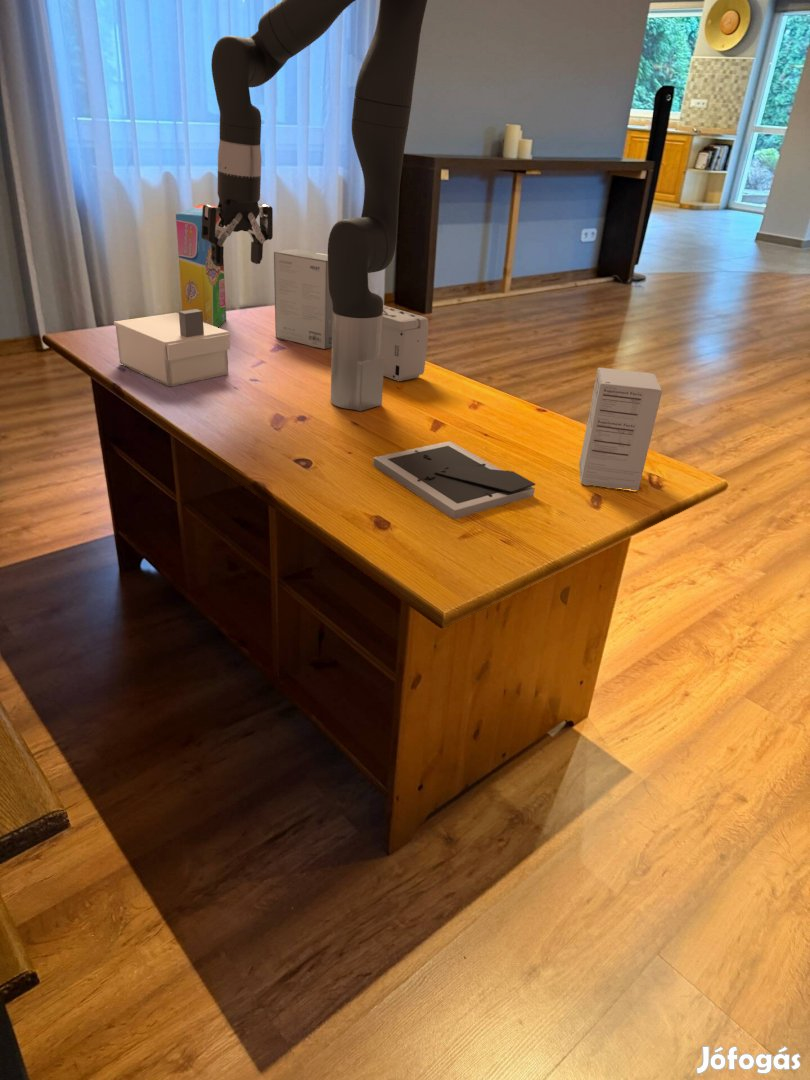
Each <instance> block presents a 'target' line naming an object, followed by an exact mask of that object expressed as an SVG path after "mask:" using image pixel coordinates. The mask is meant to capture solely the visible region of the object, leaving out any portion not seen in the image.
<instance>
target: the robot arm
mask: <svg viewBox="0 0 810 1080" xmlns="http://www.w3.org/2000/svg"><path fill="white" fill-rule="evenodd" d="M354 2H356V0H280V1H279V2H278V3H276V4H275V5H274V6H273V7H271V8H270V9H269V10H268V11H266V12H265V13H264V14H262V17H260V19H259V21H258V24H257V31H256V32H255V33H253V34H252V35H250V36H249V37H242V36H237V35H225V36H223V37H221V38H219V40H218V41H217V42H216V43H215V46H214V48H213V50H212V56H211V76H212V80H213V86H214V91H215V96H216V101H217V105H218V109H219V142H218V150H217V197H218V204H217V205H216V206H217V207H213V206H214V205H212V206H209V204H203V205H204V206H203V212H202V233H201V237H202V239H204V240H206V241H208V242H210V243H211V260H212V262H213V263H214V265H216V266H218V267H222V266H223V258H224V249H225V247H224V243H225V241H226V240H227V238H229V237H230V236H231V235H232V233H238V232H241V231H242V232H248V234H249V236H250V237H251V239H252V241H251V242H250V262H251V263H253V264H255V265H258V264H261V261H262V260H263V252H264V250H263V249H264V243H265V242H266V241H268V240H269V241H270V240H272V239H273V234H274V233H273V231H274V230H273V229H274V228H273V227H274V226H273V224H274V223H273V222H274V221H273V219H274V218H273V217H274V216H273V212H274V211H273V210H274V209H273V207H272V206H270V205H268V204H264V203H261V204H259V201H260V199H261V180H262V149H261V144H262V143H261V141H262V139H261V138H262V137H261V136H262V115H261V112H260V109H259V108H258V107H257V106H255V105H253V104H252V101H251V93H250V88H256V87H260V86H262V85H264V84H266V83H267V82H269V81H270V80H271V79H272V78H274V76H275V75H276V74H277V73H278V72H280V70H281V69H282V68H283V67H284V65H286V63H287V61H288V60H289V59H290V58H291V59H292V58H293V57H294V56H296V55H297V54H298V53H300V52H302V51H303V50H305V49H307V47H309V46H310V45H312V44H313V43H314V42H316V41H317V40H319V38H321V37H322V36H323V35H324V34H325V33H326V32H327V31H328V29H329V28H330V27H331V26H332V25H333V24H334V22H335V21H336V20H337V19H338V18H339V16H340V15H341V14H343V12H344V11H345V10H346V9H347V8H348V7H349V6H351V4H352V3H354ZM427 3H428V0H379V8H378V15H377V16H378V17H377V22H376V26H375V30H374V34H373V36H372V39H371V41H370V44H369V47H368V49H367V52H366V54H365V57H364V60H363V62H362V65H361V67H360V69H359V73H358V76H357V79H356V84H355V88H354V89H355V90H354V98H353V105H352V117H351V135H352V141H353V145H354V148H355V152H356V156H357V159H358V162H359V165H360V168H361V171H362V174H363V175H362V176H363V181H364V182H363V183H364V193H363V205H362V210H361V211H362V212H361V216H360V217H352V218H344V219H341V220H338V221H337V222H336V223H335V224H333V226H332V228H331V229H330V233H329V235H328V241H327V255H328V283H329V293H330V297H331V299H332V304H333V315H332V347H331V358H330V359H331V361H330V362H331V365H330V366H331V367H330V368H331V369H330V402H331V404H332V405H334V406H335V407H337V408H342V409H347V410H355V411H358V412H363V411H366V410H369V409H373V408H375V407H380V406H382V405H383V393H384V391H383V388H384V376H383V375H384V357H383V356H381V337H382V319H383V305H384V299H383V298H382V297H381V296H380V295H379V294H376V293H374V292H372V291H371V290H370V287H369V274H370V273H377V272H381V271H383V270H385V269H387V268H388V267H389V265H390V264H391V263H392V261H393V258H394V256H395V251H396V248H397V238H398V237H397V236H398V219H399V217H398V216H399V200H400V199H399V198H400V187H401V179H402V171H403V163H404V155H405V146H406V141H407V135H408V129H409V123H410V119H411V118H410V117H411V109H412V103H413V102H412V101H413V95H414V94H413V93H414V83H415V79H416V77H415V76H416V70H417V65H418V64H417V63H418V56H419V55H418V54H419V47H420V46H419V45H420V40H421V39H420V37H421V31H422V26H423V21H424V16H425V13H426V9H427V8H426V7H427ZM218 215H219V216H220V219H219V221H218V222H217V224H216V219H217V218H218ZM258 217H259V224H258V222H257V218H258ZM222 245H223V246H222Z"/></svg>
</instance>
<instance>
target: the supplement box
mask: <svg viewBox="0 0 810 1080" xmlns="http://www.w3.org/2000/svg"><path fill="white" fill-rule="evenodd" d="M593 386H594V387H593V392H592V397H591V403H590V409H589V415H588V419H587V422H586V423H587V424H586V426H585V433H584V438H583V444H582V449H581V453H580V458H579V463H578V465H579V466H578V468H579V478H580V485H581V484H584V485H583V486H588V485H594V486H593V487H595V486H602V487H609V488H608V489H610V488H622V489H631V490H638V491H639V490H640V486H641V482H642V481H641V480H642V477H643V472H644V469H645V464H646V461H647V457H648V452H649V448H650V444H651V440H652V435H653V431H654V426H655V422H656V418H657V413H658V409H659V408H660V407H659V406H660V402H661V399H662V394H663V390H662V388H661V385H660V383H659V380H658V378H657V375H656V374H655V373H653V372H652V373H651V372H644V371H635V370H634V371H633V370H625V369H617V368H608V367H598V368H597V371H596V376H595V381H594V385H593ZM602 487H601V488H602Z"/></svg>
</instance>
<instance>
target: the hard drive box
mask: <svg viewBox="0 0 810 1080" xmlns="http://www.w3.org/2000/svg"><path fill="white" fill-rule="evenodd" d="M273 271H274V273H273V274H274V275H273V276H274V277H273V278H274V280H273V281H274V320H275V321H274V323H275V329H274V330H275V338H278V339H282V340H285V341H288V342H293V343H298V344H300V345H301V344H303V345H306V346H309V347H312V348H318V349H321V350H326V349H327V350H328V349H330V348H332V315H333V304H332V299H331V297H330V293H329V283H328V253H321V252H315V251H308V250H301V249H295V248H292V249H290V248H289V249H285V250H278V251H274V252H273Z"/></svg>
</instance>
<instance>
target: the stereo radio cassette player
mask: <svg viewBox="0 0 810 1080" xmlns="http://www.w3.org/2000/svg"><path fill="white" fill-rule="evenodd" d="M428 336H429V319H428V318H427V317H425V316H422V315H418V314H415V313H412V312H408V311H405V310H401V309H397V308H395V307H392V306H387V305H384V304H383V319H382V337H381V356H383V357H384V375H383V377H386V378H388V379H391V380H394V381H398V382H399V381H400V382H401V381H407V380H411V379H417V378H419V377H420V375H421V376H422V375H424V373H425V367H426V361H427V351H428V338H429V337H428ZM398 382H397V383H398ZM400 382H399V383H400Z"/></svg>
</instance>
